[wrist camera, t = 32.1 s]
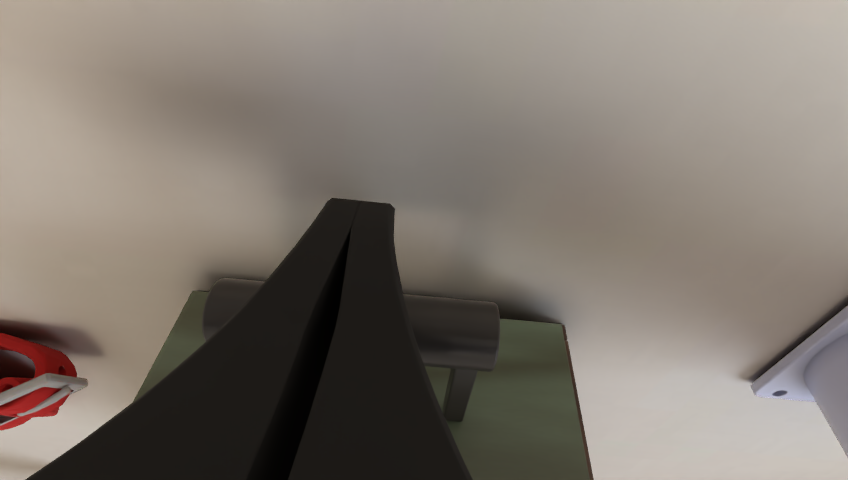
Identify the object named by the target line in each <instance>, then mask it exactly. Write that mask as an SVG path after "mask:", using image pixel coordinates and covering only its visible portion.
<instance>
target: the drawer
mask: <svg viewBox="0 0 848 480" xmlns="http://www.w3.org/2000/svg"><path fill="white" fill-rule="evenodd" d="M264 282H265V281H254V280H243V279H232V278H222V279H219V280H218V281H217V282H215V284H214V285H213V286H212V288H211V289H210V291H209V292H202V291H192V293H191V295H190V297H189V299H188V300H187V302H186V304H185V306H184V308H183V310H182V312H181V313H180V315H179V317H178V319H177V321H176V323H175V325H174V327H173V328H172V330H171V332H170V334H169V336H168V338H167V340H166V341H165V343H164V345H163V347H162V349H161V351H160V353H159V355H158V356H157V358H156V360H155V362H154V364H153V366H152V368H151V369H150V371H149V373H148V375H147V377H146V379H145V381H144V383H143V384H142V386H141V388H140V390H139V392H138V394H137V396H136V397H135V399H134V401H136V400H137V399H138V398H140V397H141V396H142V395H144V394H145V393H146V392H147V391H149V390H150V389H151V388H152V387H154V386H155V385H156V384H157V383H158V382H160V381H161V380H162V379H163V378H165V377H166V376H167V375H168V374H169V373H170V372H172V371H173V370H174V369H175V368H176V367H177V366H179V365H180V364H181V363H182V362H183V361H184V360H185V359H187V358H188V357H189V356H190V355H191V354H192V353H194V352H195V351H196V350H197V349H198V348H199V347H200V346H202V345H203V344H204V343H205V342H206V341H207V340H208V339H209V338H210V337H211V336H212V335H213V334H214V333H216V332H217V331H218V330H219V329H220V328H221V327H222V326H223V325H224V324H225V323H226V322H227V321H228V320H229V319H230V318H231V317H232V316H233V315H234V314H235V313H236V312H237V311H238V310H239V309H240V308H241V307H242V306H243V305H244V304H245V303H246V302H247V301H248V299H249V298H250V297H251V296H252V295H253V294H254V293H255V292H256V291H257V290H258V289H259V288H260V286H261V285H262V284H263V283H264ZM403 295H404V299H405V304H406V307H407V311H408V315H409V318H410V322H411V326H412V329H413V332H414V335H415V339H416V342H417V345H418V348H419V351H420V354H421V357H422V360H423V363H424V366H425V368H426V371H427V374H428V377H429V379H430V382H431V385H432V387H433V390H434V392H435V395H436V398H437V400H438V403H439V405H440V407H441V410H442V412H443V414H444V417H445V419H446V421H447V424H448V426H449V428H450V431H451V433H452V435H453V438H454V440H455V442H456V445H457V447H458V449H459V451H460V454H461V456H462V458H463V460H464V462H465V464H466V466H467V469H468V471H469V473H470V475H471V477H472V479H473V480H590V478H589V472H588V467H587V461H586V456H585V450H584V445H583V439H582V434H581V428H580V423H579V417H578V412H577V406H576V401H575V395H574V390H573V384H572V379H571V373H570V368H569V362H568V357H567V351H566V346H565V340H564V335H563V329H562V325H561V324H555V323H544V322H533V321H522V320H511V319H500V315H499V309H498V306H497V304H496V303H494V302H486V301H475V300H464V299H453V298H442V297H431V296H420V295H409V294H403ZM134 401H133V402H134Z"/></svg>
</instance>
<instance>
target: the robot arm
mask: <svg viewBox="0 0 848 480" xmlns="http://www.w3.org/2000/svg"><path fill="white" fill-rule="evenodd" d="M394 214H395V208H394V207H393V206H392V205H391V204H387V203H377V202H367V201H357V200H347V199H337V198H332V199H330V200H329V201H327V203H326V204H325V206H324V207H323V209H322V210H321V212H320V213H319V215H318V216H317V217H316V219H315V220H314V222H313V223H312V224H311V226H310V227H309V228H308V230H307V231H306V232H305V234H304V235H303V236H302V238H301V239H300V240H299V242H298V243H297V244H296V245H295V247H294V248H293V249H292V250H291V252H290V253H289V254H288V255H287V256H286V258H285V259H284V260H283V261H282V262H281V264H280V265H279V266H278V267H277V268H276V270H275V271H274V272H273V273H272V274H271V275H270V277H269V278H268V279H267V280H266V281H265V282H264V283H263V284H262V285H261V286H260V288H259V289H258V290H257V291H256V292H255V293H254V294H253V295H252V296H251V297H250V298H249V299H248V301H247V302H246V303H245V304H244V305H243V306H242V307H241V308H240V309H239V310H238V311H237V312H236V313H235V314H234V315H233V316H232V317H231V318H230V319H229V320H228V321H227V322H226V323H225V324H224V325H223V326H222V327H221V328H220V329H219V330H218V331H217V332H216V333H214V334H213V335H212V336H211V337H210V338H209V339H208V340H207V341H206V342H205V343H204V344H203V345H202V346H200V347H199V348H198V349H197V350H196V351H195V352H194V353H192V354H191V355H190V356H189V357H188V358H187V359H185V360H184V361H183V362H182V363H181V364H180V365H179V366H177V367H176V368H175V369H174V370H173V371H172V372H170V373H169V374H168V375H167V376H166V377H165V378H163V379H162V380H161V381H160V382H158V383H157V384H156V385H155V386H154V387H152V388H151V389H150V390H149V391H147V392H146V393H145V394H144V395H142V396H141V397H140V398H138V399H137V400H136V401H134V402H133V403H132V404H130V405H129V406H128V407H126V408H125V409H124V410H122V411H121V412H120V413H118V414H117V415H116V416H114V417H113V418H112V419H110V420H109V421H108V422H106V423H105V424H104V425H102V426H101V427H100V428H98V429H97V430H96V431H95V432H93V433H92V434H91V435H89V436H88V437H87V438H85V439H84V440H82V441H81V442H80V443H78V444H77V445H75V446H74V447H73V448H71V449H70V450H68V451H67V452H66V453H64V454H63V455H61V456H60V457H58V458H57V459H55V460H54V461H52V462H51V463H49V464H48V465H46V466H45V467H43V468H42V469H40V470H39V471H37V472H36V473H34V474H33V475H32V476H30V477H29V478H27V479H26V480H473V479H472V477H471V475H470V473H469V471H468V469H467V466H466V464H465V462H464V460H463V458H462V456H461V454H460V451H459V449H458V447H457V445H456V442H455V440H454V438H453V435H452V433H451V431H450V428H449V426H448V424H447V421H446V419H445V417H444V414H443V412H442V410H441V407H440V405H439V403H438V400H437V398H436V395H435V392H434V390H433V387H432V385H431V382H430V379H429V377H428V374H427V371H426V368H425V366H424V363H423V360H422V357H421V354H420V351H419V348H418V345H417V342H416V339H415V335H414V332H413V329H412V326H411V322H410V318H409V315H408V311H407V307H406V304H405V299H404V295H403V291H402V286H401V282H400V277H399V272H398V267H397V261H396V254H395V246H394ZM751 388H752V390H753V393H754V394H755V395H756V396H759V397H766V398H777V399H788V400H799V401H811V402H816V403H817V405H818V406H819V408H820V410H821V412H822V413H823V415H824V417H825V419H826V420H827V422H828V424H829V426H830V427H831V429H832V431H833V433H834V434H835V436H836V438H837V440H838V441H839V443H840V445H841V447H842V448H843V450H844V452H845V454H846V455H847V457H848V305H847V306H846V307H845V308H844V309H843V310H841V311H840V312H839V313H838V314H836V315H835V316H834V317H833V318H831V319H830V320H829V321H828V322H827V323H825V324H824V325H823V326H822V327H820V328H819V329H818V330H817V331H816V332H814V333H813V334H812V335H811V336H809V337H808V338H807V339H806V340H805V341H803V342H802V343H801V344H800V345H798V346H797V347H796V348H795V349H794V350H792V351H791V352H790V353H789V354H787V355H786V356H785V357H784V358H783V359H781V360H780V361H779V362H778V363H776V364H775V365H774V366H773V367H772V368H770V369H769V370H768V371H767V372H765V373H764V374H763V375H762V376H761V377H759V378H758V379H757V380H756V381H754V382H753V383H752V385H751Z"/></svg>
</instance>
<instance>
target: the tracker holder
mask: <svg viewBox="0 0 848 480" xmlns="http://www.w3.org/2000/svg"><path fill="white" fill-rule="evenodd" d="M0 349H2V350H10V351H16V352H19V353H21V354H23V355H26V356H27V357H29V358H30V359H31V360H32V361H33V362H34V365H35V375H34V378H14V377H6V378H3V379H0V430H5V429H10V428H13V427H16V426H18V425H21V424H23V423H25V422H26V421H28V420H30V419H31V418H32V417H44V416H54V415H56V414H57V413H58V410H59V407H60V406H61V405H63V403H64V402H65V400H66V399H67V397H68V396H69V395H70V394H72V393H74V392H76V391H79V390H81V389H83V388H85V387H87V386H88V381H87V379H83V378H77V372H76V369H75V366H74V365H73V364H72V362H71V361H70V360H69V358H68V357H67V356H66V355H65V354H64V353H62V352H60V351H58V350H55V349H52V348H49V347H46V346H43V345H40V344H38V343H34V342H31V341H28V340H25V339H22V338H18V337H15V336H12V335H8V334H4V333H0Z"/></svg>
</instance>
